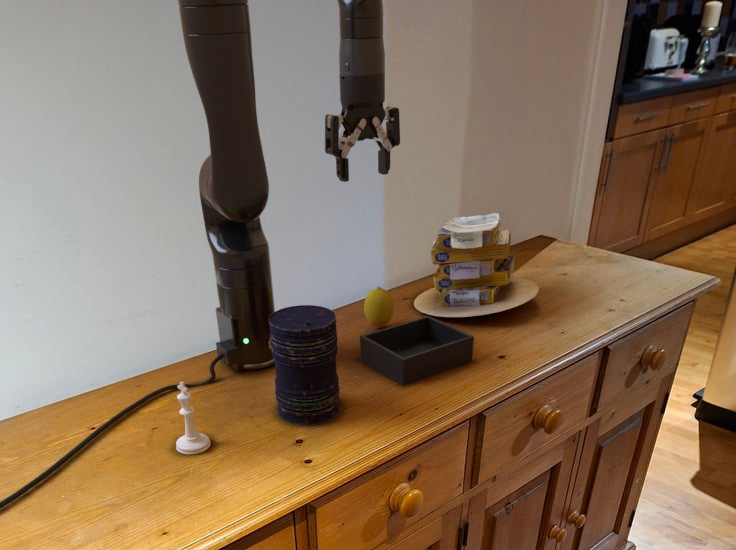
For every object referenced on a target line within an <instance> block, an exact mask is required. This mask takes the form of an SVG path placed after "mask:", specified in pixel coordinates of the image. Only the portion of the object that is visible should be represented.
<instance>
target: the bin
mask: <svg viewBox="0 0 736 550" xmlns="http://www.w3.org/2000/svg"><path fill="white" fill-rule="evenodd" d="M474 340H475V336H474V335H472V334H470V333H467V332H465V331H462V330H460V329H458V328H456V327H454V326H451V325H450V324H447V323H445V322H444V321H442V320H439V319H437V318H435V317H432V316H431V315H426V316H423V317H419V318H416V319H411V320H409V321H406V322H403V323H399V324H395V325H393V326H389V327H385V328H383V329H379V330H376V331H372V332H369V333H366V334H365V333H364V334H363V335H359V347H360V348H359V350H360V351H359V352H360V353H359V355H360V356H359V358H360V361H361V362H363V363H364V364H365V365H368V366H369V367H370V368H372V369H375V370H376V371H378V372H380V373H382V374H383V375H385V376H387V377H388V378H390V379H392V380H393V381H395V382H397V383H399V384H400V385H402V386H404V385H407V384H411V383H412V382H416V381H419V380H422V379H424V378H427V377H430V376H433V375H436V374H439V373H442V372H445V371H447V370H451V369H453V368H456V367H459V366H461V365H465V364H468V363H471V362H473V356H474V355H473V354H474V353H473V352H474V344H475V343H474V342H475V341H474Z"/></svg>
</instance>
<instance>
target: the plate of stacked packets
mask: <svg viewBox="0 0 736 550" xmlns="http://www.w3.org/2000/svg"><path fill="white" fill-rule="evenodd" d="M501 225H502V222H501V217H500V214H499V213H498V212H492V213H490V214H484V213H481V214H475V215H474V214H473V215H464V214H463V213H462V215H461V216H455V217H453V218H451V217H450V218H446V219H445V220H444V222H443V223H442V225H441V226H440V227H439V231H438V233H437V237H436V239H435V240H434V241H433V243H432V246H431V248H430V256H431V257H430V258H431V264H432V265H438V267H437V269H436V270H435V272H434V275H432V278H433V279H432V280H433V286H434V287H431V288H429V289H427V290H425V291H423V292H422V293H420V294H419V295H418V296H417V297H416V298H415V300H414V301H413V306H414V308H415V309H416V310H417V311H419V312H420V313H422V314H426V315H428V316H434V317H441V318H466V317H469V318H470V317H476V316H485V315H489V314H494V313H500V312H503V311H506V310H510V309H513V308H516V307H518V306H521V305H523V304H526V303H527V302H529V301H530V300H532V299H533V298H535V297H536V296H537V295H538V293H539V291H540V288H539V286H538V284H537V283H536V282H534V281H532V280H530V279H528V278H523V277H518V276H513V274H514V271H515V256H516V253H513V254H512V255H510V254H511V252H510V249H511V243H512V237H511V236H512V231H511V230H509V229H503V230H500V226H501Z"/></svg>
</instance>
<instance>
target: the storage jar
mask: <svg viewBox="0 0 736 550" xmlns="http://www.w3.org/2000/svg"><path fill="white" fill-rule="evenodd" d="M269 326H270V343H271V347H272V349H271V353H272V356H273V358H274V361H275V364H274V370H275V378H274V387H275V389H274V393H275V400H276V405H277V415H278V417H279V418H280V419H281V420H282V421H284V422H286V423H288V424H292V425H296V426H315V425H317V426H318V425H321V424H325V423H327V422H329V421H331V420H334V419H335V418H336V417H337V416H338V415H339V413H340V410H341V409H340V395H341V394H340V391H341V390H340V389H341V388H340V384H339V383H340V382H339V380H340V379H339V375H338V373H337V372H338V371H337V355H338V349H339V347H338V331H337V329H338V328H337V314H336V312H334V311H333V309H330V308H327V307H324V306H320V305H312V304H311V305H310V304H303V305H302V304H299V305H293V306H286V307H283V308H280V309H277V310H275V312H274V313H272V314H271V315H270V317H269Z"/></svg>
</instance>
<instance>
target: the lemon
mask: <svg viewBox="0 0 736 550" xmlns="http://www.w3.org/2000/svg"><path fill="white" fill-rule="evenodd" d="M363 306H364V307H363V312H364V315H365V319H366V320H367V322H368V323H369V324H370V325H372V326H375V328H377V329H381V328H382V327H383V326H385V325H387V324H388V323H389V322H390V321H391V320H392V317H393V315H394V300H393V297H392V295H391V293H390V292H389V291H388V290H387V289H385V288H382V287H381V286H377V287H376V288H373V289H371V290H370V291H369V292H368V293H367V295H366V296H365V300H364V305H363Z"/></svg>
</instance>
